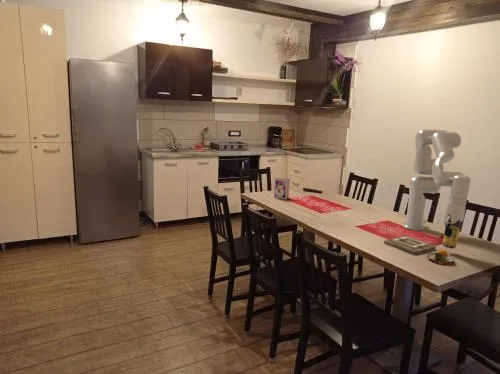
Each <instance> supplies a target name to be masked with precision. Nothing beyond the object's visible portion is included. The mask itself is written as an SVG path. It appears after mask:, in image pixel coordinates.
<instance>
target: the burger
mask: <svg viewBox="0 0 500 374" xmlns="http://www.w3.org/2000/svg"><path fill="white" fill-rule="evenodd" d="M426 257H427V258H428V261H429V262H431V263H433V262H434V263H435V264H437V265H445V266H449V265H453V264H454V258H453V257H452V256H450V255H449V254H448V252H447V249H443V248H441V249H440V248H439V250H438V251H436V252H428V253H427V255H426Z"/></svg>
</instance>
